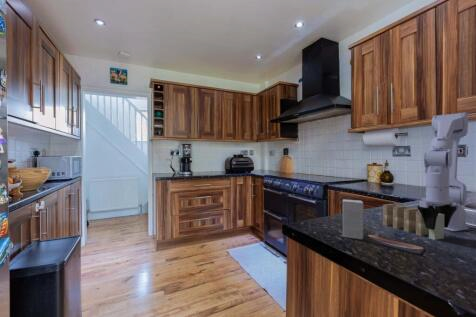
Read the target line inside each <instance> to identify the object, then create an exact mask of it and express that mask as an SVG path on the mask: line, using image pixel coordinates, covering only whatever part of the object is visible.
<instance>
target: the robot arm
mask: <svg viewBox="0 0 476 317" xmlns="http://www.w3.org/2000/svg"><path fill="white" fill-rule="evenodd" d="M431 129H432V131H433V134H434V135H435V137H434V138H433V139H432V140H431V143H430V146H429V149H428V151H427V152H425V153H424V155H423V165H424V173H425V197H423V198H422V199H421V200H419V205H417V209H418V211H420V213H421V215H422V217H423V220H424V223H425V227H426V228H427V229H431V230H434V229H435V225H436V219H437V216H438V214H439V213H441V214H444V230H447V231H451V232H459V231H460V232H461V231H465V230H469V227H467V226H466V224H467V212H466V209H465V208H464V206H465V205H466V204H467V197H468V193H467V186H466V184H465V183H463V182H461V181H460V180H458V179H457V176H458V154H459V153H458V152H459V143H460V140H461V139H462V138H464V137H466V136H467V133H468V130H469V114H468V112H466V111H464V112H459V113H450V114H440V115H439V114H438V115H433V117H431Z"/></svg>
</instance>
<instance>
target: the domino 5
mask: <svg viewBox="0 0 476 317" xmlns="http://www.w3.org/2000/svg"><path fill="white" fill-rule="evenodd" d="M428 239H430V240H433V241H437V240H442V239H443V240H444V239H445V229H444V214H441V213H439V214H438V216H437V219H436V225H435V229H434V230H431V229H429V235H428Z"/></svg>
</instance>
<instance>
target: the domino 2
mask: <svg viewBox="0 0 476 317" xmlns="http://www.w3.org/2000/svg"><path fill="white" fill-rule="evenodd" d="M404 209H407V206H405V205H398V206H397V205H396V206H395V207H393V225H392V229H396V230H398V229H404Z"/></svg>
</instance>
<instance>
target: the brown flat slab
mask: <svg viewBox="0 0 476 317" xmlns="http://www.w3.org/2000/svg"><path fill="white" fill-rule="evenodd" d="M361 240H362V242H365V243H366V242H367V243H369V244H370V243H371V244H374V245H378V246H380V247H384V248H388V249H393V250H396V251H399V252H404V253H407V254H411V255H415V256H422V254H424V252H425V250H426V249H425V247H422V246H419V245H415V244H412V243H411V244H410V243H406V242H404V241H398V240H393V239H390V238H386V237H381V236H377V235H373V234H367V235H366V236H363V239H361Z"/></svg>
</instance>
